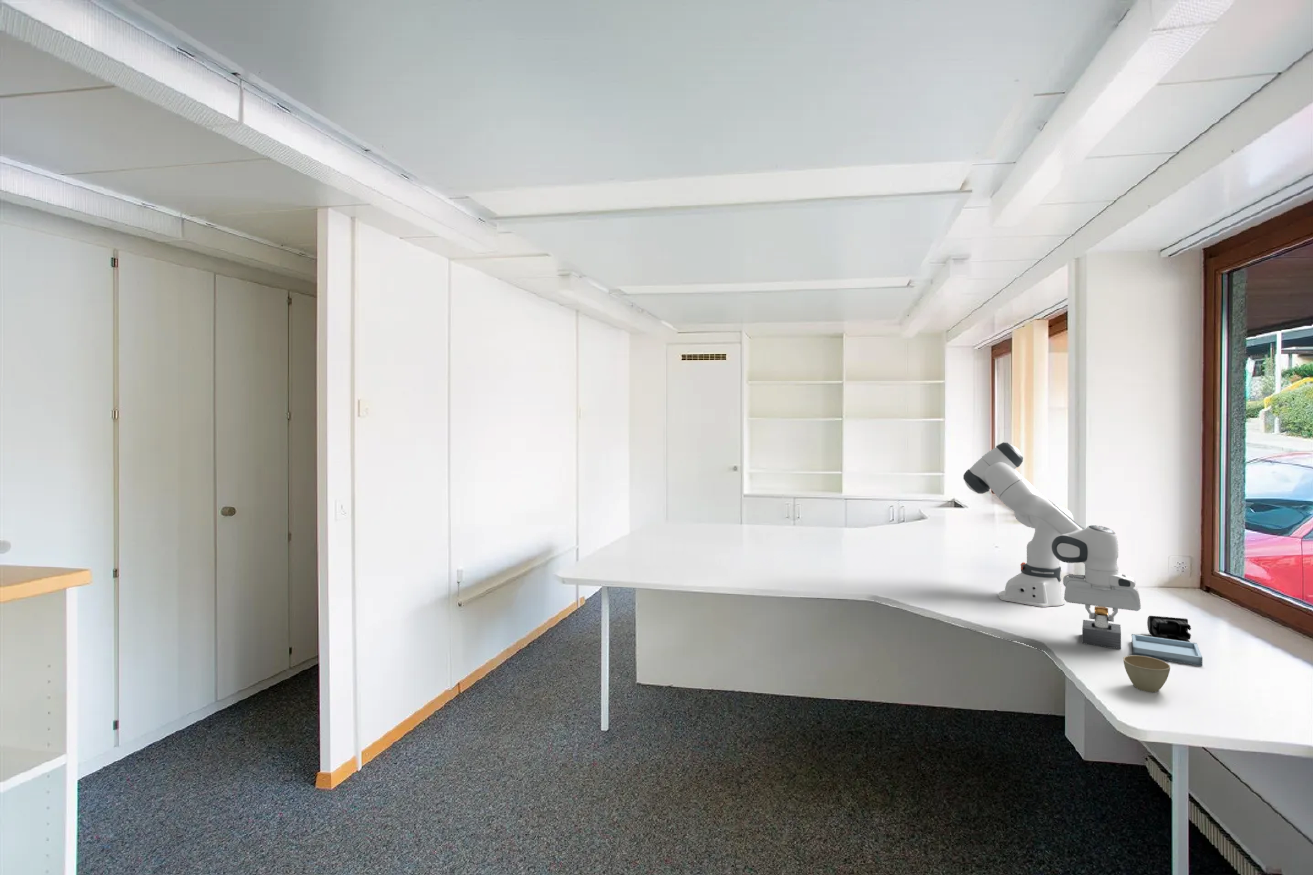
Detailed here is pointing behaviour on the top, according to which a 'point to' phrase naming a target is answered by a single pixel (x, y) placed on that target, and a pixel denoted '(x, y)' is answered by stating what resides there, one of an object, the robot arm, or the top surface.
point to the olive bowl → (1146, 672)
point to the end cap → (1169, 628)
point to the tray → (1166, 649)
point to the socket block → (1101, 635)
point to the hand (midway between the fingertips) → (1101, 619)
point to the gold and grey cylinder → (1101, 617)
